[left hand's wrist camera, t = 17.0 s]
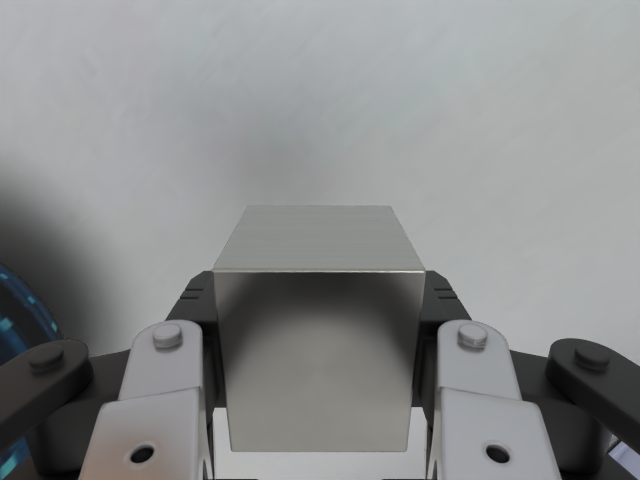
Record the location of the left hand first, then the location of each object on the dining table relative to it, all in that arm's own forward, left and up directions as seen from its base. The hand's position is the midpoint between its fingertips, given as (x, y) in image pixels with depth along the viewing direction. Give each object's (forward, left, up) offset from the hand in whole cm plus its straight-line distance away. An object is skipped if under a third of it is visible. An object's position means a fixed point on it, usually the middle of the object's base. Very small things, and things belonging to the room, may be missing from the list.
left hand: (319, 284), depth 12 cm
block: (0, 0, 0) cm, 0 cm away
